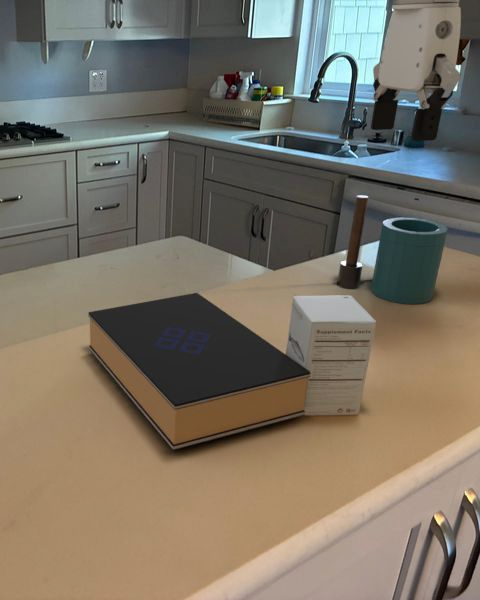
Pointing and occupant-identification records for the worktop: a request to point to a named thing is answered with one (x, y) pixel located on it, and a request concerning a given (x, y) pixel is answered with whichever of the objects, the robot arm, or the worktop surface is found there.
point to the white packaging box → (331, 351)
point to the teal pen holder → (408, 260)
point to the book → (196, 369)
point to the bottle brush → (354, 248)
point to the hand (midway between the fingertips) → (401, 134)
